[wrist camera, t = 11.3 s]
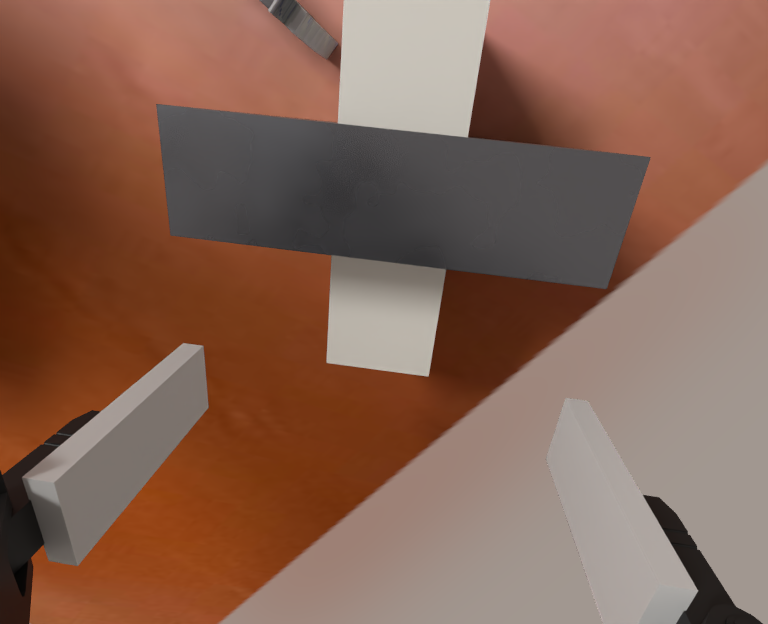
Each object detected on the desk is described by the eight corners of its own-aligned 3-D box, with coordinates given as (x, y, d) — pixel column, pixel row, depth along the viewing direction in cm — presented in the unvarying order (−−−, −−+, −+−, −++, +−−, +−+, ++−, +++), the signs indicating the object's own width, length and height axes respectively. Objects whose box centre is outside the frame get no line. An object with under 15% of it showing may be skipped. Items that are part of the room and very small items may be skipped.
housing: (285, 189, 26) (170, 235, 14) (285, 117, 24) (156, 104, 13) (524, 216, 25) (607, 289, 13) (541, 144, 23) (650, 157, 12)
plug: (352, 325, 29) (324, 397, 21) (375, 15, 22) (346, -50, 14) (424, 335, 29) (422, 410, 21) (471, 24, 22) (496, -37, 14)
